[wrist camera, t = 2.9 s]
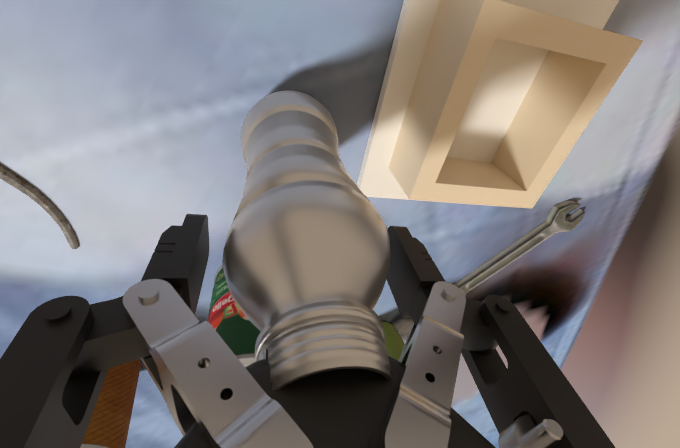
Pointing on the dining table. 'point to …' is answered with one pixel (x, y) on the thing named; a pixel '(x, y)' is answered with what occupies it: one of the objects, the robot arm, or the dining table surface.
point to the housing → (488, 97)
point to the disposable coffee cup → (113, 408)
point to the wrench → (525, 243)
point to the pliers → (40, 203)
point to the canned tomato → (232, 321)
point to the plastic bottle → (306, 246)
